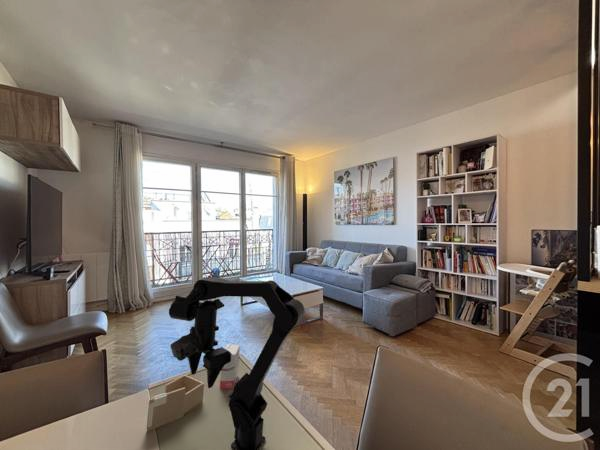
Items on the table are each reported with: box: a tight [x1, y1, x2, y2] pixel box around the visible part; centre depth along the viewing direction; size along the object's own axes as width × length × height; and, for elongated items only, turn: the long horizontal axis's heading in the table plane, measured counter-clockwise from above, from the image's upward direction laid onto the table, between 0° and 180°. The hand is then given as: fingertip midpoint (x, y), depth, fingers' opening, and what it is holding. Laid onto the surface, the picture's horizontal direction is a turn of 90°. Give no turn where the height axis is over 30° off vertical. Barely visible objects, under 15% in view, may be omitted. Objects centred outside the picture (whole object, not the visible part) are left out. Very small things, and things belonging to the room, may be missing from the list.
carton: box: [164, 374, 205, 416], centre depth 78 cm, size 9×7×6 cm
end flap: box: [146, 387, 185, 432], centre depth 69 cm, size 9×2×8 cm, turn 132°
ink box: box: [219, 343, 241, 389], centre depth 91 cm, size 9×5×12 cm, turn 3°
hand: (201, 380), depth 69 cm, fingers open, 9 cm apart
